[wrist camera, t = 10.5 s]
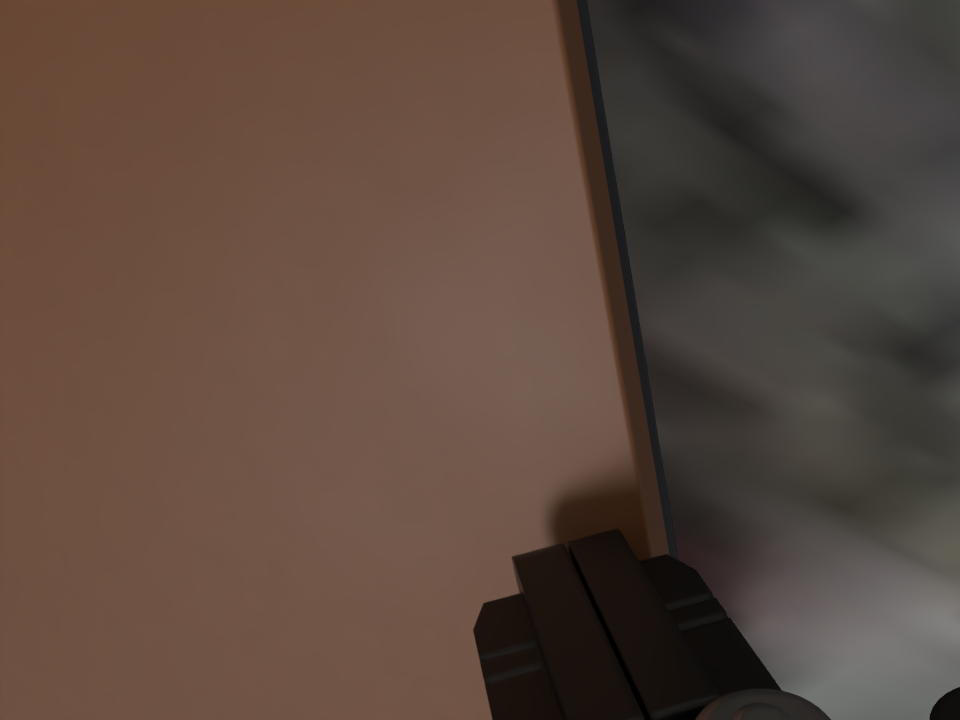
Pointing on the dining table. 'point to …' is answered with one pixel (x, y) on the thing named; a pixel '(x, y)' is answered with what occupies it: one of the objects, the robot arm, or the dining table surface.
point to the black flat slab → (626, 269)
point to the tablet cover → (298, 350)
